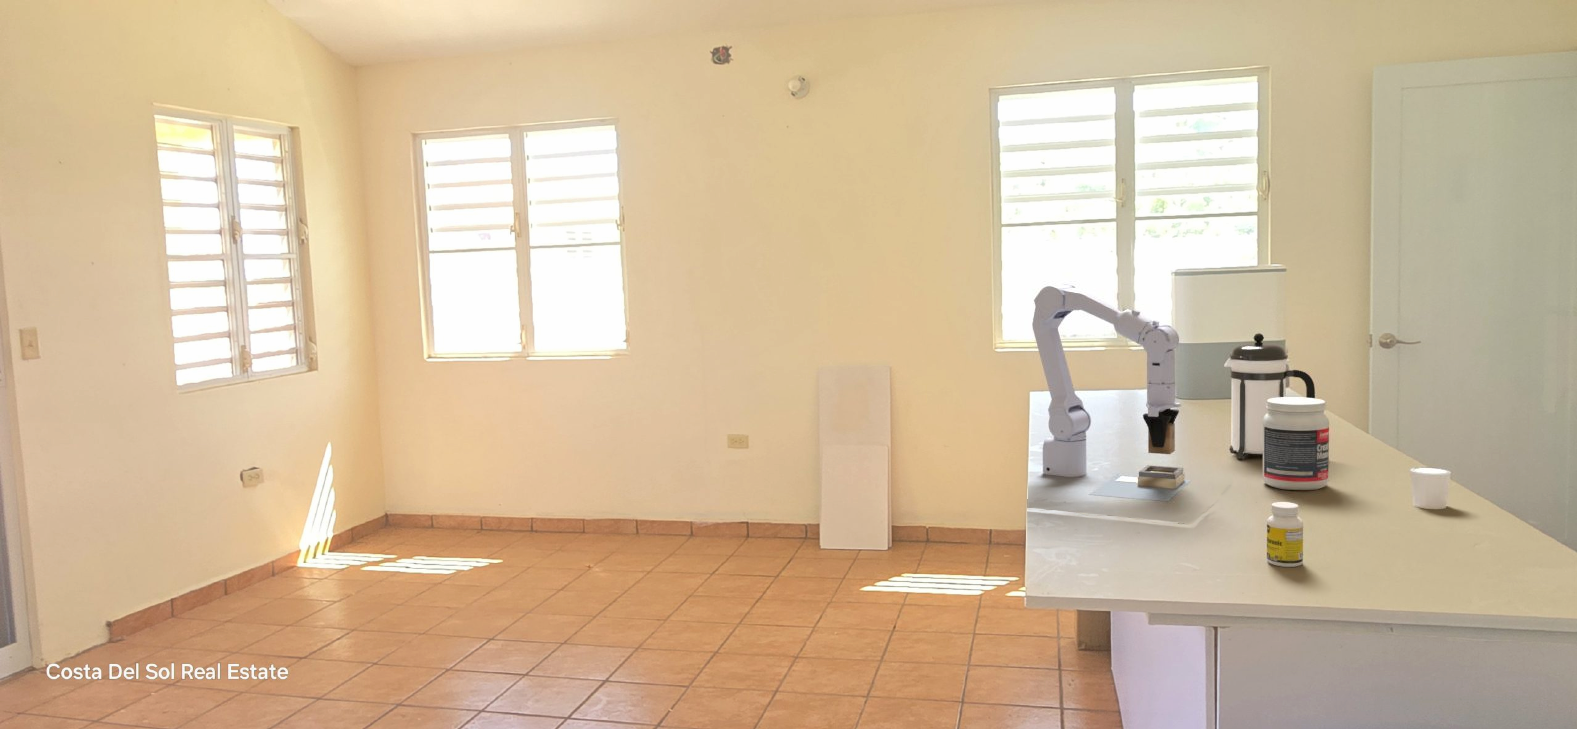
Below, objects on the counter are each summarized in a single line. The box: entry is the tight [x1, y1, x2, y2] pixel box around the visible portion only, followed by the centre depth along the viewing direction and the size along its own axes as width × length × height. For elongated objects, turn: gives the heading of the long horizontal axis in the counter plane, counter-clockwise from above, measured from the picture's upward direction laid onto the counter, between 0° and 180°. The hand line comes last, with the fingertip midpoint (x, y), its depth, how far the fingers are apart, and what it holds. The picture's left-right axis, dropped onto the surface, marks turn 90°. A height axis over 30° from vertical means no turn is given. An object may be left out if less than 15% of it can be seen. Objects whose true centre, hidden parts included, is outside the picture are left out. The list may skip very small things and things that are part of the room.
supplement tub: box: [1262, 396, 1330, 491], centre depth 229 cm, size 13×13×18 cm
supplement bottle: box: [1266, 501, 1304, 568], centre depth 176 cm, size 5×5×10 cm
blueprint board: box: [1088, 464, 1192, 502], centre depth 230 cm, size 16×22×4 cm
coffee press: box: [1223, 332, 1316, 461], centre depth 260 cm, size 17×16×30 cm
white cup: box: [1409, 466, 1452, 510], centre depth 209 cm, size 7×7×7 cm
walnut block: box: [1147, 422, 1176, 455], centre depth 232 cm, size 4×4×6 cm
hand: (1161, 444), depth 232 cm, fingers closed on walnut block, 4 cm apart
